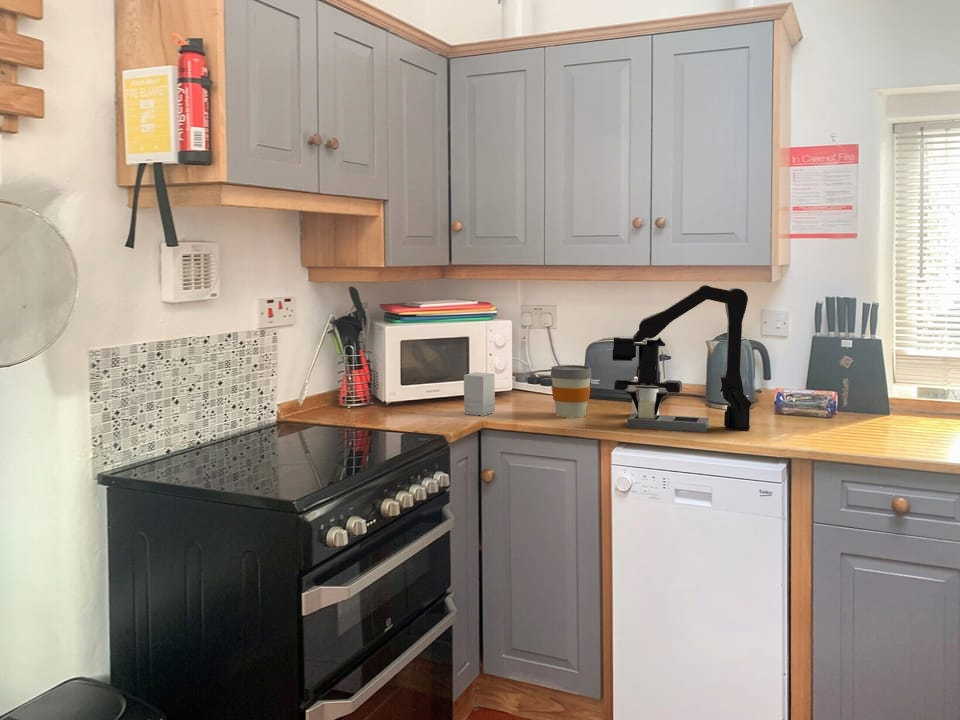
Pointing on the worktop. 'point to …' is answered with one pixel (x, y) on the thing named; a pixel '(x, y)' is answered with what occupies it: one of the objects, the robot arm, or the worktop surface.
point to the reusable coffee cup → (571, 389)
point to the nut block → (646, 409)
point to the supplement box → (479, 393)
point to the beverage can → (644, 396)
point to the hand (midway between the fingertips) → (647, 414)
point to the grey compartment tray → (670, 423)
